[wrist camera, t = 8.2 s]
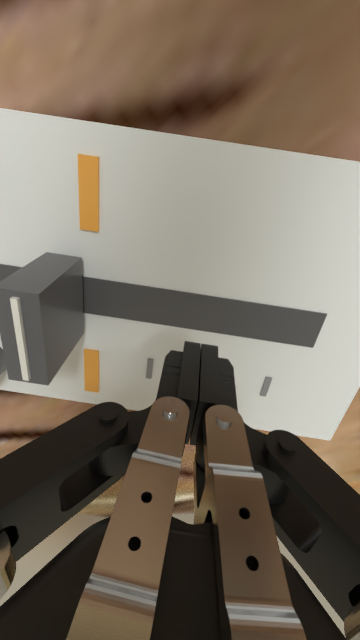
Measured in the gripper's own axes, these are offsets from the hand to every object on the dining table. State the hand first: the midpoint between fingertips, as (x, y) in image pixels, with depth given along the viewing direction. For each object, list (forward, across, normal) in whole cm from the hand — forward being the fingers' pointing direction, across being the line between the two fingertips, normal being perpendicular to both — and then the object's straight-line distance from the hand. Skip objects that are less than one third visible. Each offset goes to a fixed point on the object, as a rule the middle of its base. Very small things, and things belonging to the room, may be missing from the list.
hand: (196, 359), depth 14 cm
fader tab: (+5, +8, +1) cm, 9 cm away
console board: (+7, +3, 0) cm, 8 cm away
